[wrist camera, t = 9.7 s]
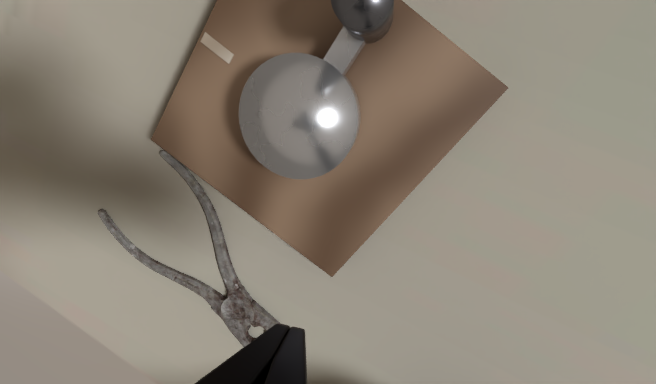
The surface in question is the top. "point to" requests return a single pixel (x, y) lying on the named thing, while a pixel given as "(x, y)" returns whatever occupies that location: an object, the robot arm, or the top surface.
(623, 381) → the top surface
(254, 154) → the crank handle
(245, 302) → the pliers
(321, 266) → the dial plate
